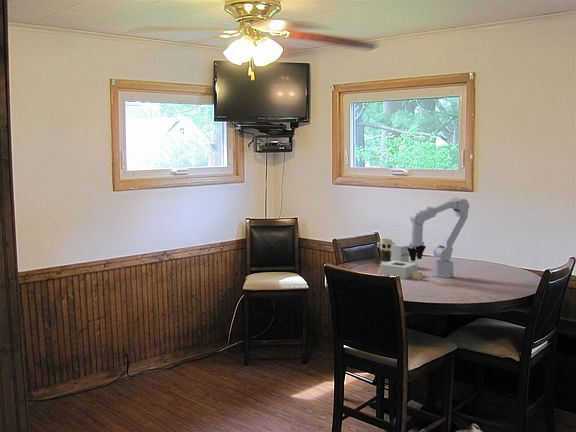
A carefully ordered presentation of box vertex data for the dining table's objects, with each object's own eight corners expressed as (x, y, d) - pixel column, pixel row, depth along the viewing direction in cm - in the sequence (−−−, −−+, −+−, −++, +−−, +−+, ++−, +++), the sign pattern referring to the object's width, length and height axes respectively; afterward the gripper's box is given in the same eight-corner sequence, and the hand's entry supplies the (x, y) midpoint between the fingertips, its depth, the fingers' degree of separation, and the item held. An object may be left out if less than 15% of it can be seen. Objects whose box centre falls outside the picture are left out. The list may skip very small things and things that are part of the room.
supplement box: (400, 268, 362) (401, 246, 360) (390, 265, 367) (391, 244, 366) (408, 266, 366) (409, 245, 365) (399, 264, 372) (399, 243, 370)
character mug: (377, 261, 381) (377, 240, 379) (376, 259, 388) (376, 238, 387) (395, 261, 380) (395, 240, 379) (393, 259, 388) (394, 238, 386)
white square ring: (416, 274, 345) (417, 263, 344) (405, 278, 333) (405, 267, 332) (392, 270, 354) (392, 260, 353) (380, 275, 342) (380, 264, 341)
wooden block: (421, 279, 332) (422, 272, 332) (419, 280, 330) (419, 273, 330) (415, 278, 335) (415, 271, 334) (412, 279, 332) (412, 272, 332)
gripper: (416, 232, 343) (415, 257, 345) (404, 235, 332) (403, 260, 333) (428, 234, 339) (427, 258, 341) (416, 237, 327) (415, 262, 329)
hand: (416, 259), depth 337 cm, fingers open, 7 cm apart
